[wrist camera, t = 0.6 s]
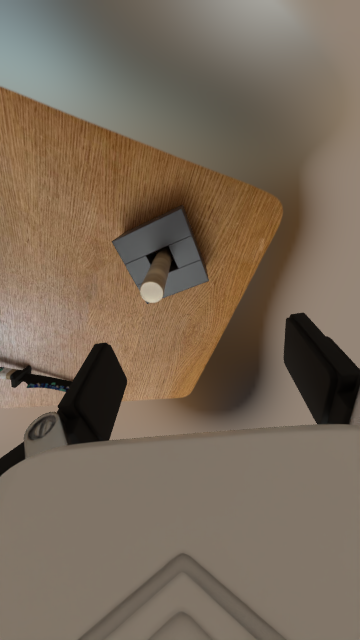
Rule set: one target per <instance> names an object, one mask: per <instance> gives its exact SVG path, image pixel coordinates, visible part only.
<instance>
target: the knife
mask: <svg viewBox="0 0 360 640" xmlns="http://www.w3.org/2000/svg"><path fill="white" fill-rule="evenodd" d="M0 379H10V380H11V384H12V387H14V388H16V387H17V386H18V385H19V384H20V383H21V382H26V383H27V384H28V386H27V388H36V387H39V388H49V389H55V390H60V391H64V392H67V390H68V388H69V387H70V385H71V383H72V381H67V380H62V379H57V378H52V377H47V376H41V375H35V374H31V367H30V366H27V367H26V368H25V369H23V370H16V369H10V368H4V367H0Z"/></svg>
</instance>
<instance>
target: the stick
mask: <svg viewBox="0 0 360 640" xmlns="http://www.w3.org/2000/svg"><path fill="white" fill-rule="evenodd" d="M172 257H173V255H172V253H171V251H170V248H169V245H168V246H166V247H164V248H162V249H159V250H158V252H157V254H156V256H155V258H154V260H153V262H152V264H151V266H150V268H149V270H148V273H147V275H146V277H145V279H144V281H143V283H142V285H141V287H140V295H141V297H142V298H143V299H144V300H145V301H146V302H149V303H156V302H158V301H160V300H161V299H162V297H163V295H164V290H165V286H166V282H167V278H168V274H169V269H170V265H171V261H172Z"/></svg>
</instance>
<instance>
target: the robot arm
mask: <svg viewBox="0 0 360 640" xmlns="http://www.w3.org/2000/svg"><path fill="white" fill-rule="evenodd" d="M284 363H285V365H286V367H287V369H288V371H289V373H290V375H291V377H292V378H293V380H294V382H295V384H296V386H297V388H298V390H299V392H300V393H301V395H302V397H303V399H304V401H305V403H306V404H307V406H308V408H309V410H310V412H311V414H312V416H313V418H314V419H315V421H316V423H317V425H300V426H285V427H284V426H283V427H269V428H256V429H243V430H230V431H217V432H204V433H193V434H180V435H169V436H155V437H144V438H134V439H133V438H132V439H121V440H109V439H110V436H111V432H112V429H113V426H114V423H115V420H116V416H117V413H118V410H119V407H120V404H121V401H122V398H123V395H124V391H125V388H126V385H127V378H126V376H125V374H124V372H123V370H122V368H121V366H120V363H119V361H118V359H117V357H116V355H115V353H114V351H113V349H112V347H111V345H108V344H107V343H99V344H95V345H94V347H93V348H92V350H91V352H90V353H89V355H88V357H87V358H86V360H85V362H84V363H83V365H82V367H81V368H80V370H79V372H78V373H77V375H76V377H75V378H74V380H73V382H72V383H71V385H70V387H69V388H68V390H67V392H66V393H65V395H64V397H63V398H62V400H61V402H60V403H59V405H58V408H59V410H58V411H57V413H56V412H49V413H46V414H43V415H42V416H40V417H38V418H37V419H36V420H34V421H33V422H32V423H31V424H30V426H29V427H28V429H27V430H26V432H25V434H24V442H23V443H21V444H20V445H18V446H17V447H16V448H14V449H13V450H11V451H10V452H9V453H7V454H6V455H4V456H3V457H2V458H0V640H360V369H359V368H358V367H357V366H356V365H355V364H354V363H353V362H352V360H351V359H349V357H348V356H347V355H346V354H345V353H344V352H343V351H342V350H341V349H340V348H339V347H338V345H337V344H335V342H334V341H333V340H332V339H331V338H329V337H326V336H325V335H324V334H323V333H322V332H321V331H320V330H319V329H318V328H317V326H316V325H315V324H314V323H313V322H312V321H311V320H310V319H309V318H308V317H307V315H305V313H297V314H291V315H290V317H289V318H287V319H286V328H285V345H284Z"/></svg>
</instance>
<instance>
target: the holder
mask: <svg viewBox="0 0 360 640" xmlns="http://www.w3.org/2000/svg"><path fill="white" fill-rule="evenodd" d="M112 243H113V245H114V246H115V248H116V250H117V252H118V253H119V255H120V257H121V259H122V261H123V262H124V264H125V266H126V268H127V270H128V271H129V273H130V275H131V277H132V278H133V280H134V282H135V284H136V285H137V287H138V289H139V291H140V287H141V285H142V283H143V281H144V279H145V277H146V275H147V273H148V270H149V268H150V266H151V264H152V262H153V260H154V258H155V256H156V252H155V251H157V250H159V249H162V248H164V247H166V246H168V245H169V248H170V251H171V253H172V255H173V258H174V259H173V260H172V261H171V265H170V269H169V274H168V278H167V282H166V286H165V290H164V295H163V297H162V298H165V297H167V296H170V295H173V294H175V293H178V292H181V291H183V290H186V289H189V288H191V287H194V286H197V285H199V284H202V283H205V282H207V281H209V279H208V274H207V269H206V266H205V263H204V260H203V258H202V255H201V252H200V249H199V247H198V244H197V241H196V238H195V236H194V233H193V230H192V228H191V225H190V222H189V219H188V217H187V214H186V211H185V209H184V206H183V205H181V206H179V207H177V208H175V209H173V210H171V211H169V212H166V213H164V214H162V215H160V216H158V217H156V218H154V219H152V220H150V221H148V222H146V223H144V224H141V225H139V226H137V227H135V228H133V229H131V230H129V231H127V232H125V233H123V234H122V235H120V236H119V237H117V238H116V239H115V240H113V241H112ZM146 303H147V304H149V302H146Z"/></svg>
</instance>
